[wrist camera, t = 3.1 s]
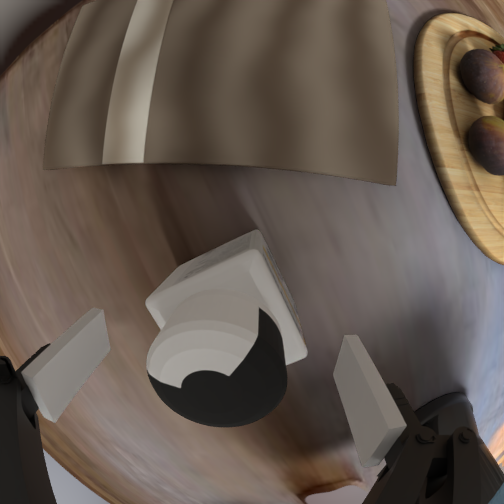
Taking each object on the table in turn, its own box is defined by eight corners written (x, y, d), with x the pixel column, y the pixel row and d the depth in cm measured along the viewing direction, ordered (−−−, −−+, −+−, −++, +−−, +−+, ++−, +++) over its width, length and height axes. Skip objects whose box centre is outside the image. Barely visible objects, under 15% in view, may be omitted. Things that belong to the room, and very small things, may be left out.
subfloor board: (380, 5, 16) (386, -2, 14) (387, 185, 20) (396, 185, 19) (88, 10, 16) (82, 5, 15) (52, 169, 21) (42, 169, 19)
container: (296, 307, 23) (325, 419, 11) (218, 338, 24) (188, 451, 12) (258, 227, 22) (254, 283, 9) (176, 266, 23) (97, 346, 10)
